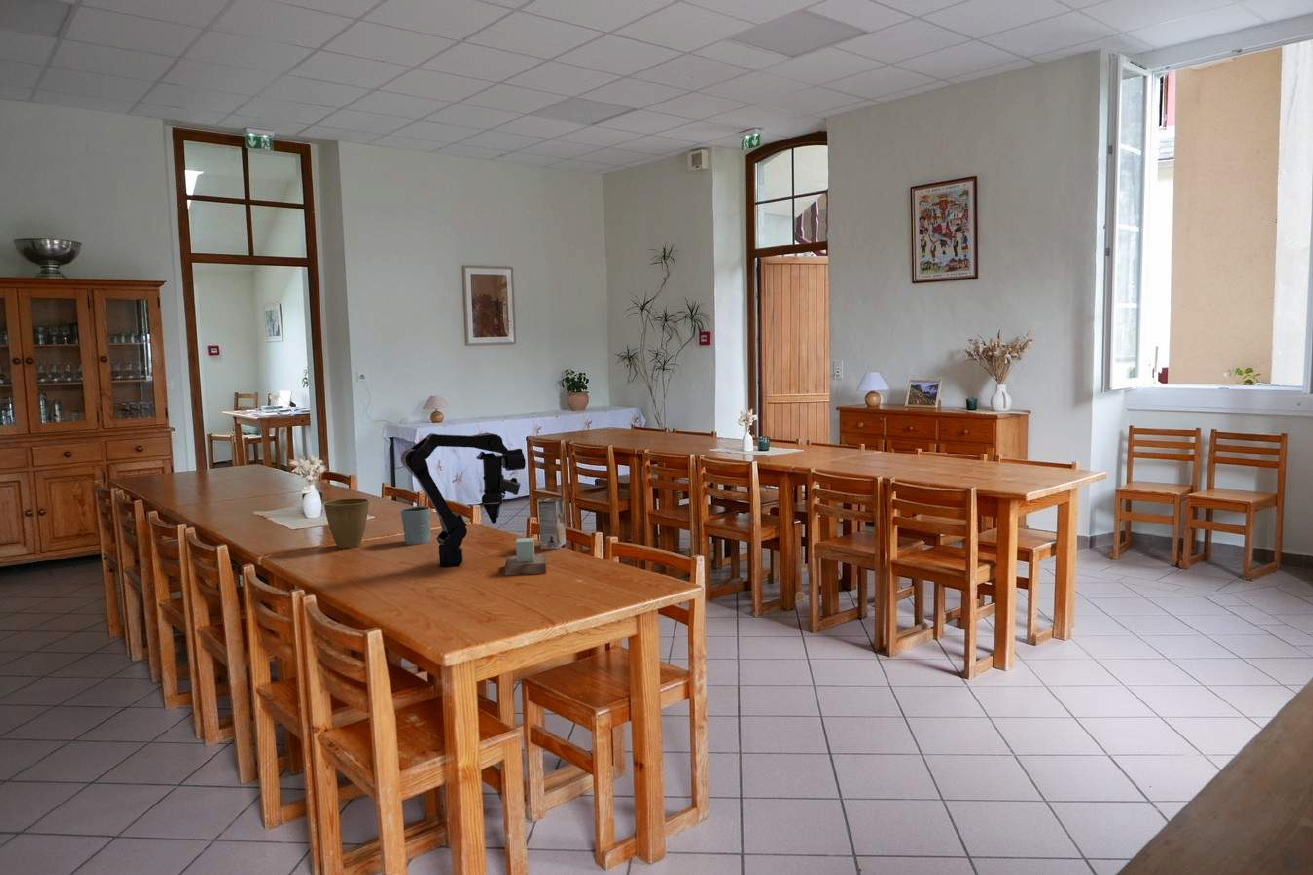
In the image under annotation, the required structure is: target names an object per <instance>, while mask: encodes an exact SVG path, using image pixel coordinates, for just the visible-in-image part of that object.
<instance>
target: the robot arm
mask: <svg viewBox="0 0 1313 875" xmlns="http://www.w3.org/2000/svg"><path fill="white" fill-rule="evenodd" d="M438 447H442V448H443V447H446V448H450V447H451V448H470V449H471V448H472V449H478V450H482V451H480V453H479V454H478V455H476V458H475V459H477V460H479V461H482V463H483V482H484V483H483V484H484V485H483V486H484V488H483V489H484V490H483V495H482V496H481V503H482V506H483V508H484V509H485V511H486V513H487V515H488V517H489V520H490V521H491V523H492V524H497V519H498V518H499V514H500V507H501V505H502V504H503V502H504V501H503V499H504V498H505V496H506V494H507V493H511V494H512V495H516V496H518V494H519V491H520V488H521V483H520V482H519V481H518V478H517V477H512V478H511V479H506V478H504V476H505V475H503V469H504V470H505V471H506V472H511V471H521V470H525V469H526V463H527V461H526V457H525V454H524V453H523V452H524V451H523V449H522V448H515V449H508V448H507V447H506V446H505V445H504V443H503V438H502V437H501V436H500V435H499V434H496V433H491V432H485V433H478V434H472V435H467V434H466V435H465V434H464V435H463V434H462V435H461V434H441V433H440V434H439V433H438V434H437V433H432V432H431V433H428V435H426V436H425V437H424V438H423V439H421V440H420V441H419V442H417V443H416V444H415V445H413V446H412V447H411V448H407V449H406V450H404V451H403V452H402V453H401V456H400V462H401V464H402V465H403V466H404V467H405V469H406V470H407V471H408V472H409V473H410V474H411V475H412V476H413V477H414V478H415V479H416V481H417V482H418V483H419V485H420V487H421V489H422V490H423V492H424V494H425V496H426V497H427V499H428V501H429V502H430V503H431V506H432V508H433V509H434V510H435V512H436V514H437V516H438V518H439V523H440V527H441V532H440V533H438V535H437V536H436V537H435V539H436V541H437V543H438V544H439V545H438V558H439V559H438V560H439V564H438V567H440V568H442V567H459V566H461V564H462V563H463V560H464V559H463V558H464V555H463V548H462V547H461V546H462V542H463V539H465V537H466V535H467V532H468V531H467V527H466V526H468V524H466V522H464V519H463V517H462V515H461V514H460V513H458V512H456V511H454V512H453V511H452V510H451V508H450V506H449V504H447V501H446V500H445V498H444V496H443V494H442V493H441V491H440V489H439V488H438V486H437V484H436V482H435V481H434V480H433V478H432V476H431V474H430V471H429V466H428V463H427V460H426V459H428V458H429V457H430V456H431V454H432V453H433V452H434V451H435V449H437V448H438ZM484 451H486V452H490V453H486V452H484ZM495 453H496V454H499V455H496V454H495Z"/></svg>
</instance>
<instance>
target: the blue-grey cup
mask: <svg viewBox="0 0 1313 875" xmlns="http://www.w3.org/2000/svg"><path fill="white" fill-rule="evenodd" d="M400 515H401V516H400V517H401V521H402V526H403V533H404V534H403V536H404V542H405V544H406V545H410V546H416V545H424V544H428V543H430V542H431V531H430V530H431V523H430V522H431V507H430V506H411V507H410V506H409V507H405V508H402V509H400Z"/></svg>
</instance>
